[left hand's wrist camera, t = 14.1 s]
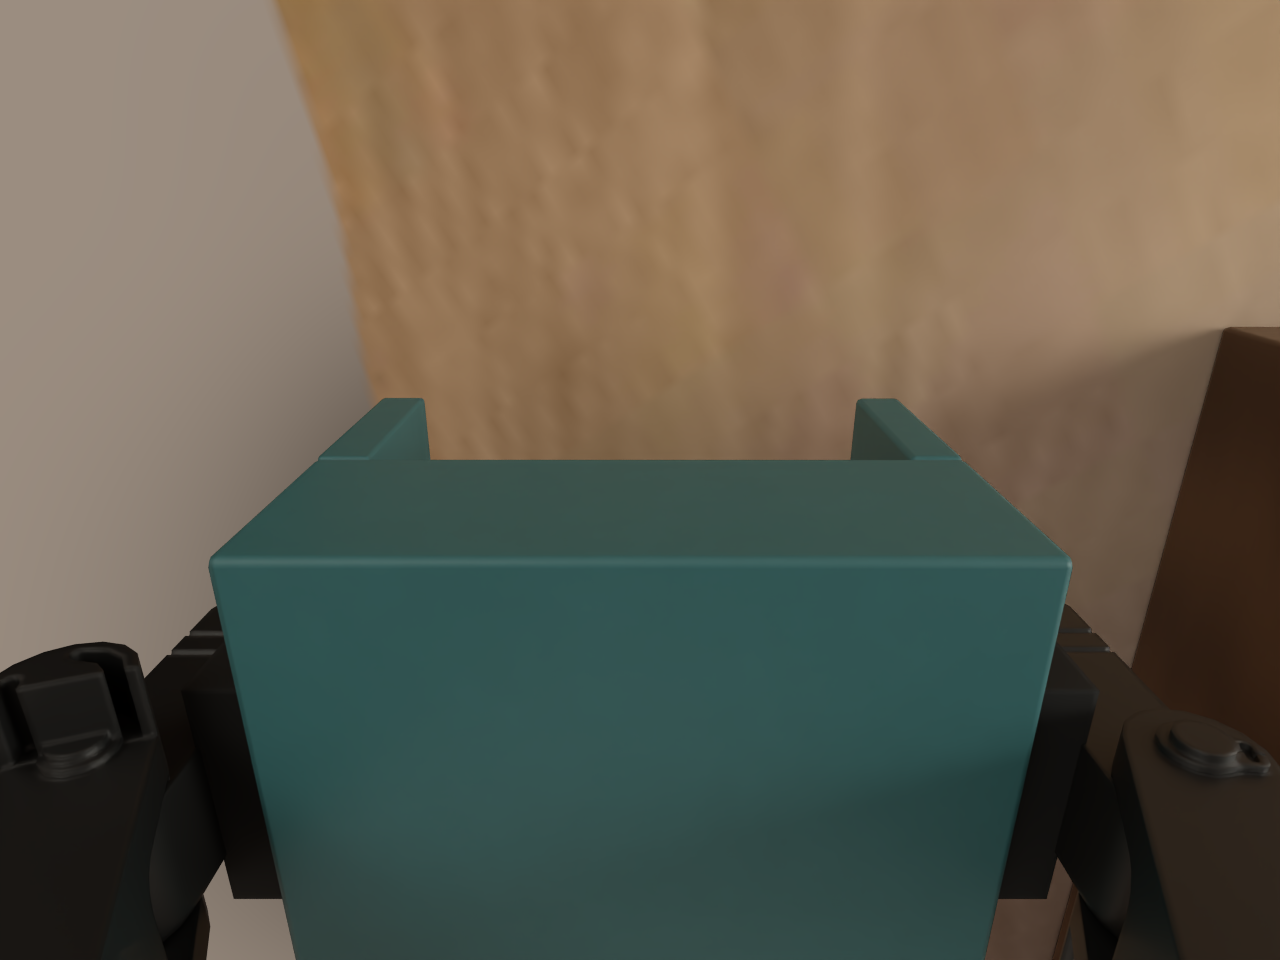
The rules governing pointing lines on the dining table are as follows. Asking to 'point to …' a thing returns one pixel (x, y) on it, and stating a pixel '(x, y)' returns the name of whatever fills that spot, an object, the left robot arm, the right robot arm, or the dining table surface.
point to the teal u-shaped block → (640, 699)
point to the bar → (1223, 558)
